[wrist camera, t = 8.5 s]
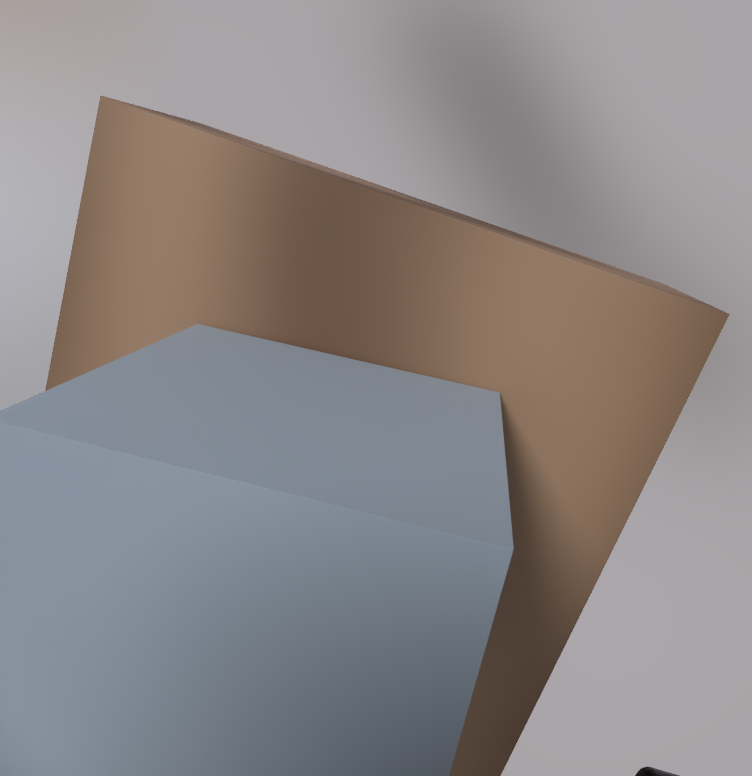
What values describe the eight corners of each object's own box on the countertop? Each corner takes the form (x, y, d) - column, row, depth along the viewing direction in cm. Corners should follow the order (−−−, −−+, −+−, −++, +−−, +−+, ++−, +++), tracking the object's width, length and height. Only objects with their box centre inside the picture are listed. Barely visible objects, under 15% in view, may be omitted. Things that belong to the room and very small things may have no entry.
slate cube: (499, 392, 11) (514, 549, 6) (431, 655, 12) (398, 951, 7) (196, 324, 11) (-16, 417, 6) (166, 585, 13) (-25, 821, 8)
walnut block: (662, 283, 14) (729, 314, 10) (484, 672, 17) (482, 810, 13) (203, 124, 14) (100, 95, 11) (110, 526, 17) (2, 617, 13)
